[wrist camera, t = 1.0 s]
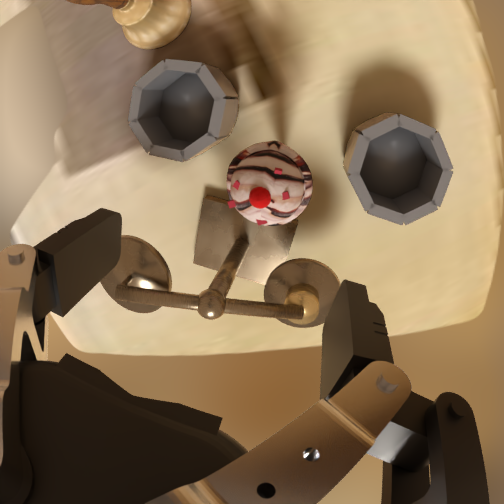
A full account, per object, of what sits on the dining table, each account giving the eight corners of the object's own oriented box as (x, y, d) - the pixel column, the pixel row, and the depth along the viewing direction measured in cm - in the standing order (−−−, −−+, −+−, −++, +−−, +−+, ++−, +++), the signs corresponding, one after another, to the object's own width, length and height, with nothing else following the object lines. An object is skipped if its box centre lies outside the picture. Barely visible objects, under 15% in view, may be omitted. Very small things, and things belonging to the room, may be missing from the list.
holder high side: (165, 62, 28) (138, 57, 23) (247, 73, 27) (233, 67, 23) (151, 141, 32) (124, 149, 27) (228, 158, 32) (212, 168, 27)
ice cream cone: (303, 122, 29) (293, 136, 15) (320, 177, 31) (323, 236, 18) (248, 139, 30) (194, 168, 17) (266, 191, 32) (229, 258, 19)
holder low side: (359, 102, 27) (368, 101, 22) (440, 135, 26) (462, 142, 21) (333, 187, 31) (337, 203, 26) (412, 214, 30) (428, 234, 25)
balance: (160, 183, 34) (75, 237, 21) (348, 235, 33) (364, 326, 20) (154, 245, 38) (83, 318, 25) (324, 296, 37) (321, 398, 23)
